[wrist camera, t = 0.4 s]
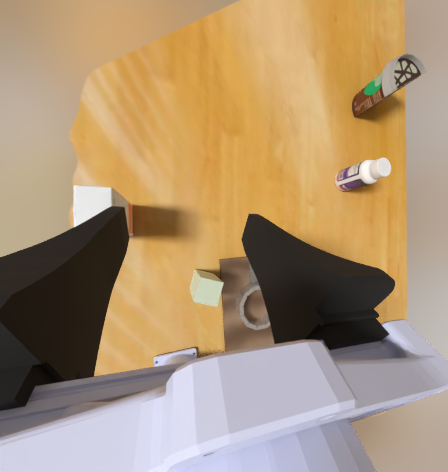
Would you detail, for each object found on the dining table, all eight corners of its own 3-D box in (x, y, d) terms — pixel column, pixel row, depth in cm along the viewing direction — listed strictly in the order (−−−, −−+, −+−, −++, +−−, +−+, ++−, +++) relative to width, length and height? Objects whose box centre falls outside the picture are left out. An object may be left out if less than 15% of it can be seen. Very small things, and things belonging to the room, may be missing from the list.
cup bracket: (283, 339, 42) (293, 348, 39) (225, 354, 38) (230, 365, 35) (278, 253, 42) (287, 254, 38) (219, 259, 38) (223, 261, 35)
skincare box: (134, 236, 34) (113, 235, 22) (108, 236, 33) (72, 236, 21) (133, 203, 34) (112, 186, 22) (107, 203, 33) (71, 184, 21)
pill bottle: (353, 186, 48) (396, 174, 39) (338, 194, 47) (380, 184, 37) (345, 167, 47) (388, 150, 38) (331, 175, 46) (371, 159, 37)
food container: (370, 81, 50) (417, 43, 40) (379, 102, 51) (427, 70, 41) (340, 97, 47) (383, 61, 37) (351, 119, 48) (395, 89, 38)
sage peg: (213, 273, 38) (223, 282, 30) (208, 292, 37) (217, 306, 30) (195, 268, 37) (200, 277, 29) (189, 288, 36) (193, 302, 29)
